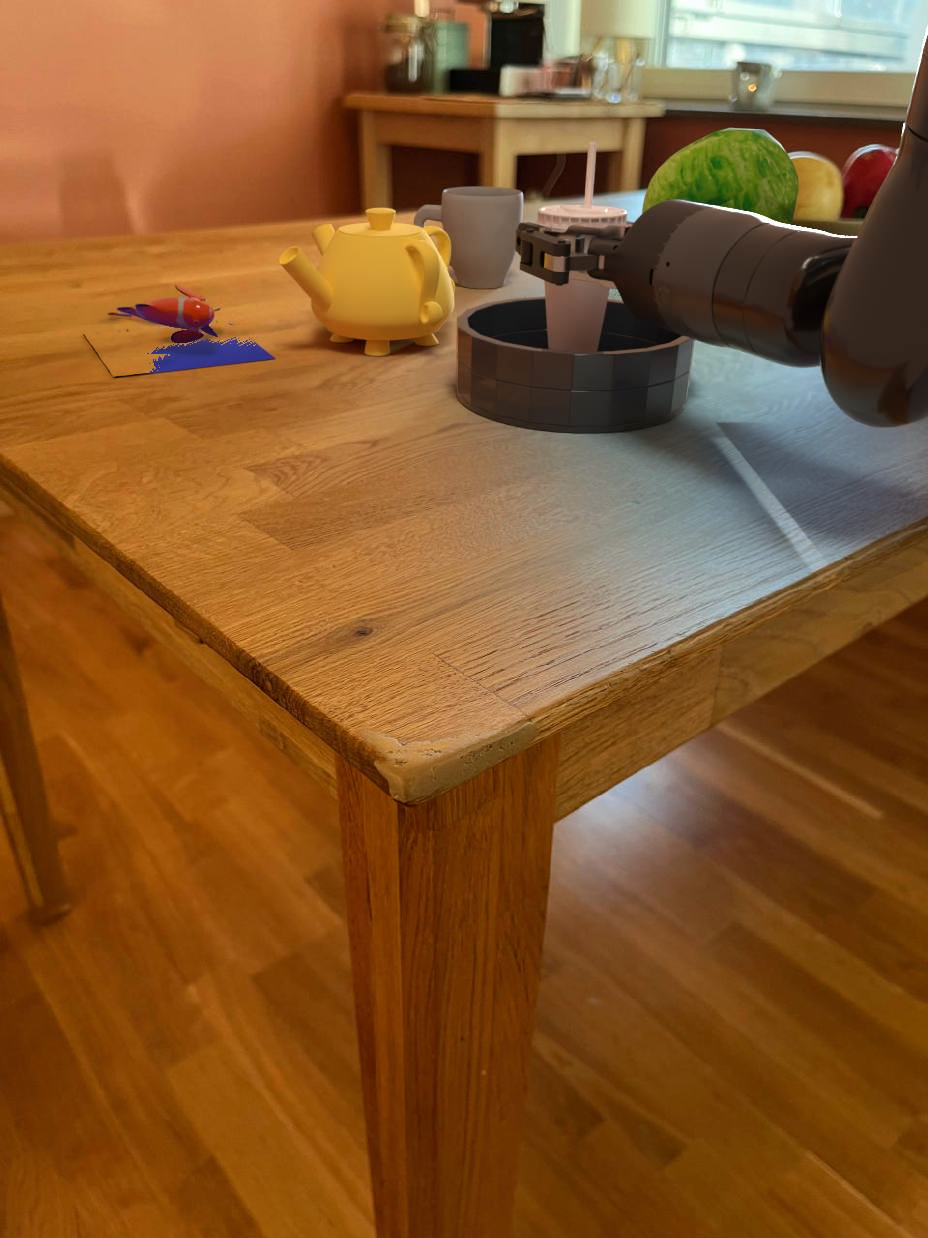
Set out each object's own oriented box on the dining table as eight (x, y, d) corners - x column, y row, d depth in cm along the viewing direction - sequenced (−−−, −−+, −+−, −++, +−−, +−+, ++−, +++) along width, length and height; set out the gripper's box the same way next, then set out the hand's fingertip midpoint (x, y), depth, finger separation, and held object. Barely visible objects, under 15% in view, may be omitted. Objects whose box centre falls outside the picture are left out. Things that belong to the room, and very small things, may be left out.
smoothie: (569, 363, 70) (583, 145, 63) (513, 344, 74) (521, 139, 68) (633, 351, 73) (654, 143, 66) (576, 334, 78) (590, 137, 71)
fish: (234, 291, 81) (127, 301, 77) (239, 349, 83) (136, 361, 80) (194, 264, 91) (98, 271, 87) (201, 316, 93) (107, 325, 90)
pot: (658, 362, 84) (665, 296, 81) (712, 432, 69) (724, 354, 66) (452, 362, 83) (453, 295, 80) (461, 433, 68) (462, 354, 65)
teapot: (320, 318, 96) (312, 194, 90) (459, 323, 95) (461, 198, 89) (284, 360, 83) (272, 219, 78) (444, 366, 82) (444, 224, 77)
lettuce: (705, 245, 133) (634, 145, 125) (843, 180, 118) (771, 62, 110) (665, 330, 126) (586, 230, 118) (805, 274, 110) (725, 154, 103)
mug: (521, 276, 114) (524, 187, 110) (518, 293, 107) (522, 197, 102) (418, 273, 115) (418, 184, 110) (409, 289, 108) (407, 194, 103)
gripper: (810, 201, 60) (648, 175, 73) (615, 213, 54) (476, 182, 67) (789, 326, 64) (638, 280, 77) (604, 349, 58) (474, 295, 71)
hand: (563, 235), depth 72 cm, fingers closed on smoothie, 6 cm apart
